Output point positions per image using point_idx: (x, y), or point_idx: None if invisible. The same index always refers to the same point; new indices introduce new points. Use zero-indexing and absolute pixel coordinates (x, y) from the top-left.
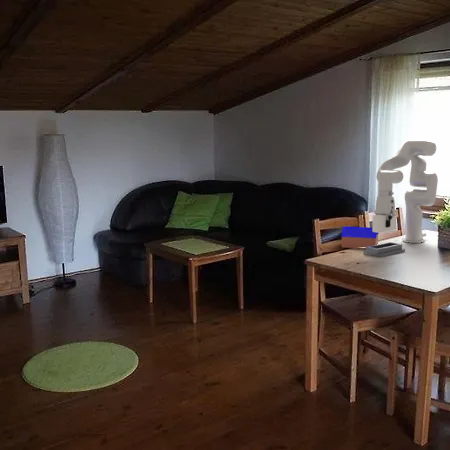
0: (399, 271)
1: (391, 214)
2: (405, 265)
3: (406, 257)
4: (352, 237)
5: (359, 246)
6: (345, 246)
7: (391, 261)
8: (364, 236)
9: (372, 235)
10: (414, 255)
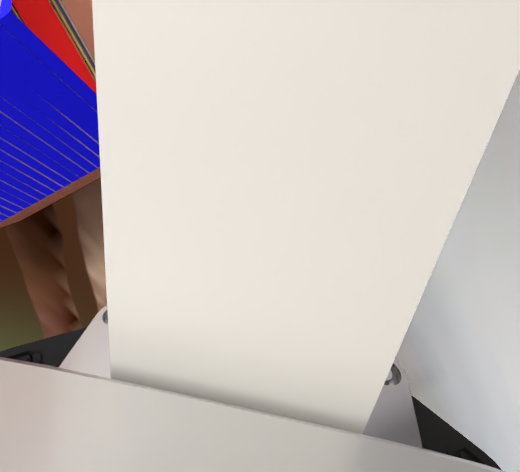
0: (507, 463)
1: (384, 373)
2: (504, 381)
3: (455, 232)
4: (4, 215)
5: (89, 181)
6: (30, 214)
7: (411, 350)
8: (57, 176)
9: (93, 135)
10: (489, 149)
